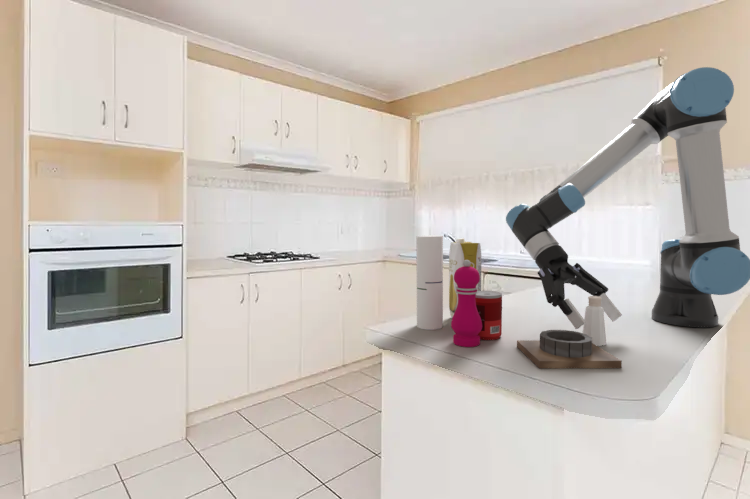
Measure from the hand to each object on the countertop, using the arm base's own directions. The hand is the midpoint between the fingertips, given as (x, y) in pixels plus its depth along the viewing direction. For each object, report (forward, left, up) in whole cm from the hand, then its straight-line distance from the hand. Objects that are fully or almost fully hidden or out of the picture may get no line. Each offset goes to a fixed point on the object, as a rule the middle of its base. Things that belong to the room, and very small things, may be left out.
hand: (599, 322), depth 97 cm
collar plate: (+12, +9, -5) cm, 15 cm away
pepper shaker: (+1, -1, -6) cm, 6 cm away
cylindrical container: (+38, -17, -5) cm, 42 cm away
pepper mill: (+31, -1, -5) cm, 31 cm away
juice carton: (+27, -24, -5) cm, 37 cm away
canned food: (+25, -7, -6) cm, 26 cm away
